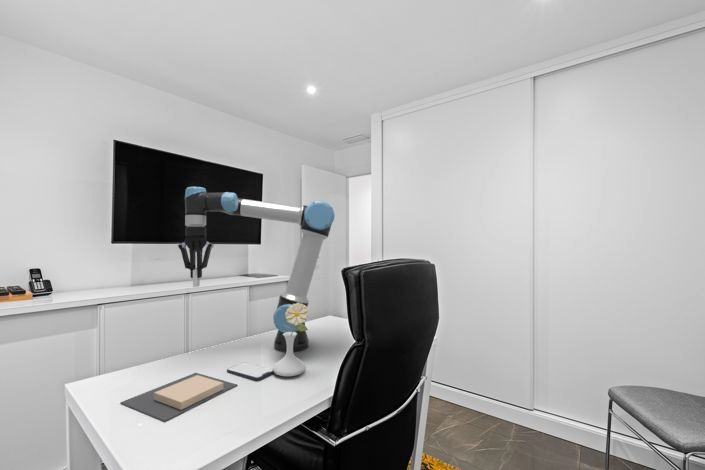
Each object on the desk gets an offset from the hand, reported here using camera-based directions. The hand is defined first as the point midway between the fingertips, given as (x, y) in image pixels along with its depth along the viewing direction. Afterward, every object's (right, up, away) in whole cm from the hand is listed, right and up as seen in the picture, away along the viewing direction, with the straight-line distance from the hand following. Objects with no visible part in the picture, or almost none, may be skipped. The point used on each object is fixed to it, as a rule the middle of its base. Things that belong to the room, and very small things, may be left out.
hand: (196, 286), depth 127 cm
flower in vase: (+40, -29, -13) cm, 51 cm away
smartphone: (+25, -29, -13) cm, 41 cm away
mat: (+10, -28, -30) cm, 42 cm away
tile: (+8, -26, -28) cm, 39 cm away
